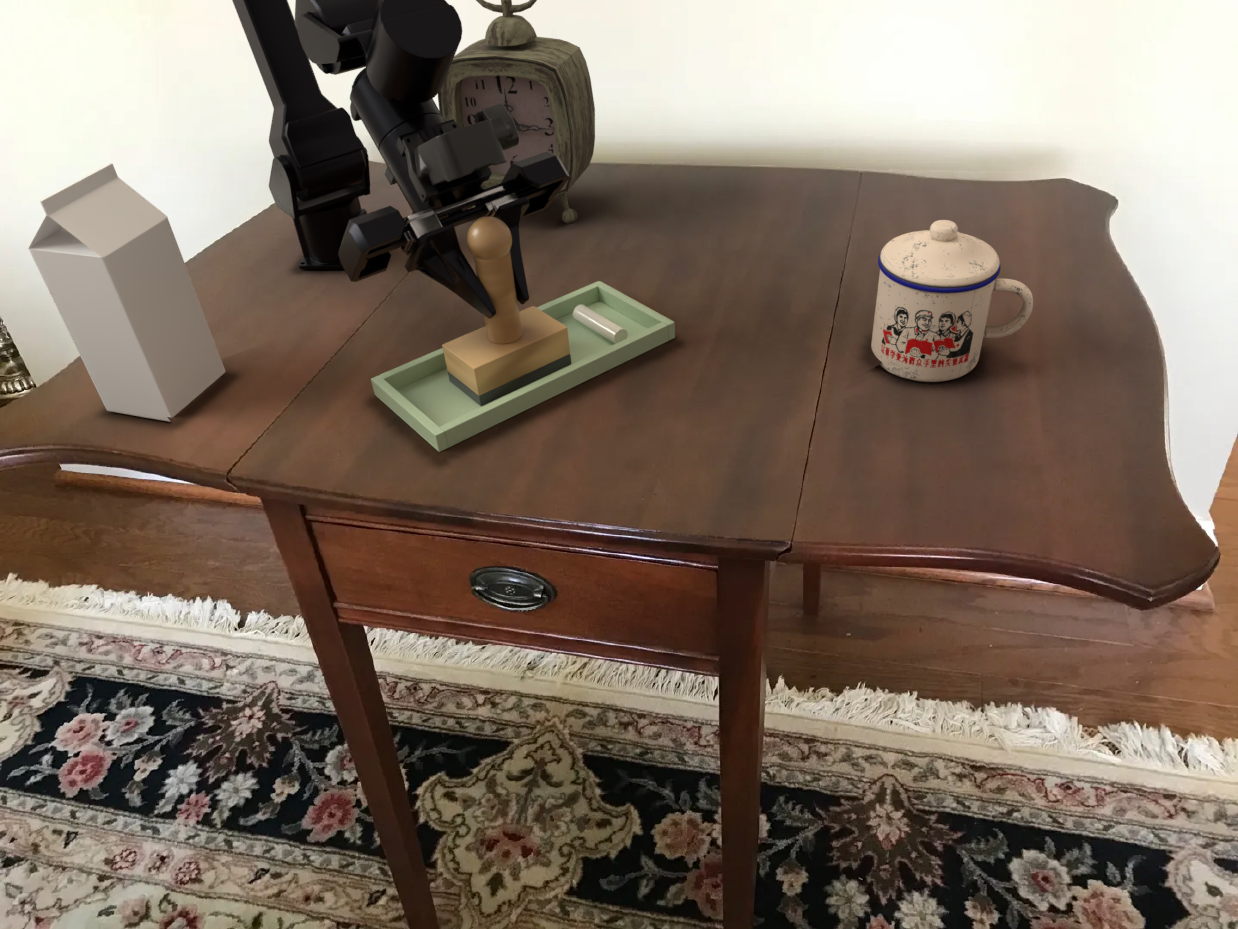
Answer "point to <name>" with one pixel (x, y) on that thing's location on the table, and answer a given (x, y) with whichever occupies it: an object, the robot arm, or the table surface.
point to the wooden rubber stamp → (503, 327)
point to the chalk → (599, 324)
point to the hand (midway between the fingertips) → (509, 309)
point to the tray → (455, 416)
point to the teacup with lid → (938, 303)
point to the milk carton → (125, 296)
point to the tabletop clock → (526, 93)
